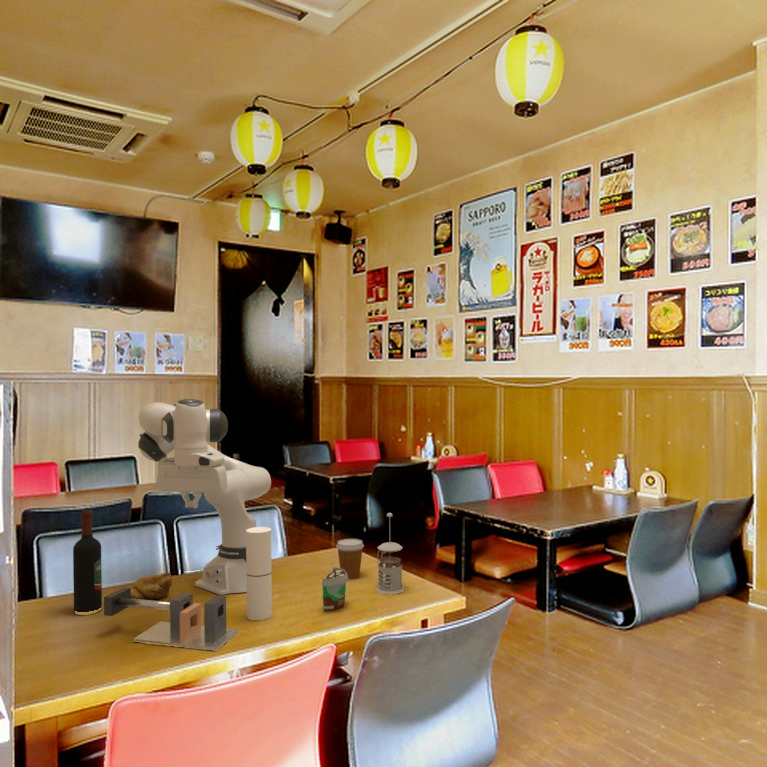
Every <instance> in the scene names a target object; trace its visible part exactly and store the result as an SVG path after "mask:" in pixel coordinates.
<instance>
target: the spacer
mask: <svg viewBox="0 0 767 767" xmlns="http://www.w3.org/2000/svg"><path fill="white" fill-rule="evenodd" d="M190 617H191V625H190ZM201 625H202V603H198V602H197V603H195V602H194V603H193V604H192V605H191V606H189V607H187V608H186V609H184V610H183V611H181V612H180V639H182V640H188V639H189V638H190V637H192V636H193V635H194V634H196V633H197V632H198V631H200V630H201Z"/></svg>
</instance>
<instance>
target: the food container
mask: <svg viewBox="0 0 767 767" xmlns="http://www.w3.org/2000/svg"><path fill="white" fill-rule="evenodd" d="M321 579H322V580H321V587H322V604H323V605H322V606H323V612H324V613H325V611H326V612H327V613H328V612H336V610H337V611H339V609H340V610H342V609H343V608H344V607H345V606H344V605H345V604H346V587H347V586H346V585H347V582H348V581H349V579H348V575H347V573H346V571H345V570H344V569H341V568H340V567H332V571H331V572H329V574H328V575H327V576H326V577H325V578H321ZM341 608H342V609H341Z"/></svg>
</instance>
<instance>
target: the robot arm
mask: <svg viewBox="0 0 767 767" xmlns="http://www.w3.org/2000/svg"><path fill="white" fill-rule="evenodd" d="M227 418H228V417H227V416H226V414H225V413H224V412H223V411H222V410H221V409H219V408H210V409H206V405H205V403H204V401H202V400H200V399H194V398H193V399H192V398H184V399H180V400H177V401H176V403H174V404H169V403H166V402H161V401H160V402H159V401H156V402H151V403H149V404H146V405H144V406H143V407H142V409H141V410H140V411H139V414H138V422H139V425H140V426H141V428H142V430H144V432H143V433H140V434H139V437H140V438H139V439H138V442H137V446H138V447H137V448H138V449H139V451H140V453H141V455H143V457H144V458H146V459H148V460H149V461H153V462H155V463H156V462H157V475H156V485H155V486H156V489H157V490H158V491H159V492H160V491H161V492H179V493H180V495H181V497H182V500H183V501H184V502H185V503H184V504H185V506H184V507H185V508H186V509H197V508H198V507H199V501H200V500H201V497H202V496H203V495H204V498H205V500H206V502H207V503H208V504H210V505H211V506H212V507H214V508H215V510H216V512H217V513H218V516H219V519H220V526H221V543H220V545H216V546H215V550H216V551H217V550H218V552H217V555H216V556H215V557H213V559H211V560H210V561H209V562H207V563H206V564H205V565H204V567H203V568H202V575H201V576H202V577H201V578H199V579H198V580H196V581H195V582H194V586H195V587H197V588H200V589H203V590H205V591H209V592H211V593H213V594H216V595H218V596H223V595H227V594H228V595H229V594H238V593H247V578H246V530H247V529H249V528H254V527H257V521H256V518H255V517H254V516H253V515H252V514H250V513H248V512H247V510H246V505H245V502H247V501H252V500H256V499H258V498H260V497H262V496H263V495H265V494H267V493H268V492H269V490H270V489H271V486H272V479H271V475H270V473H269V471H268V470H267V469H266V468H264V467H261V466H255V465H251V464H248V463H246V462H243V461H240V460H238V459H235V458H231V457H230V456H228V455H225V454H223V453H222V451H221V452H220V451H219V450H218V449H216V448H215V447H214V446H212V445H210V444H209V443H219V442H221V441H222V440H223V438H225V436H226V435H227V433H228V430H229V421H228V419H227ZM172 451H174V452H173V453H174V456H173V457H168V455H169V454H170V453H172ZM191 493H192V496H193V497H194V498H193V500H191V498H190V496H189V495H190V494H191ZM202 493H203V494H202Z"/></svg>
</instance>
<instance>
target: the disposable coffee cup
mask: <svg viewBox="0 0 767 767" xmlns="http://www.w3.org/2000/svg"><path fill="white" fill-rule="evenodd" d="M335 546H336V549H337V553H338V562H339V568H341V569H344V570H345V571H346V573H347V575H348V580H354V579H353V578H355V579H358V578H360V575H361V566H362V565H361V564H362V558H363V557H362V556H363V555H362V554H363V548H364V547H365V545H364V543H363V540H361V539H358V538H344V539H339V540H338V541H337V544H336V545H335Z"/></svg>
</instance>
